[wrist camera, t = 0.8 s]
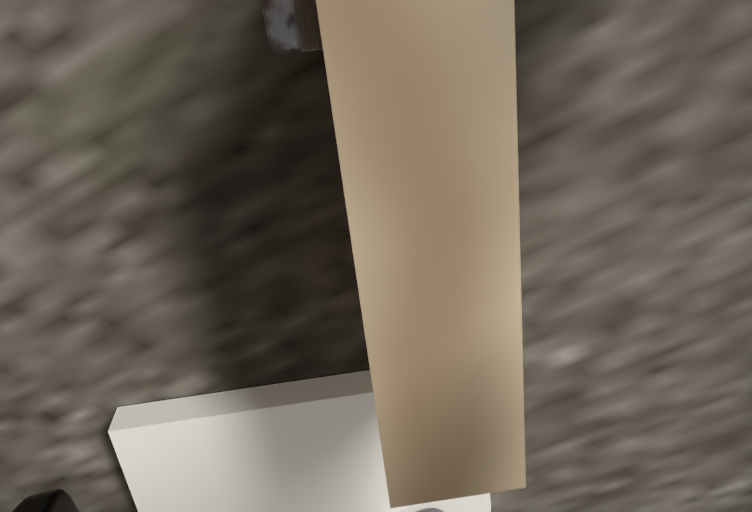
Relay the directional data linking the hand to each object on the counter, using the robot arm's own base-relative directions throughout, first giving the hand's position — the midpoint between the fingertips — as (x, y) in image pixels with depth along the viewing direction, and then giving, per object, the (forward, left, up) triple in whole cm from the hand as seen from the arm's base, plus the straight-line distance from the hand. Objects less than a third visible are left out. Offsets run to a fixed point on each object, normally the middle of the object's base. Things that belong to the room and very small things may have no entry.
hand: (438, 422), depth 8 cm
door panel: (-1, 0, -12) cm, 12 cm away
